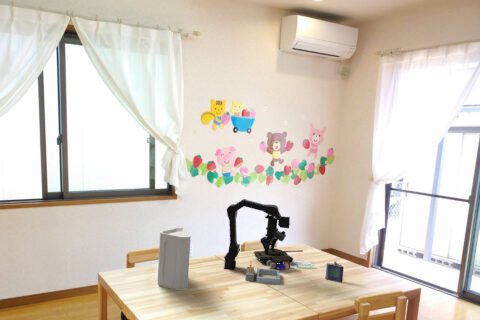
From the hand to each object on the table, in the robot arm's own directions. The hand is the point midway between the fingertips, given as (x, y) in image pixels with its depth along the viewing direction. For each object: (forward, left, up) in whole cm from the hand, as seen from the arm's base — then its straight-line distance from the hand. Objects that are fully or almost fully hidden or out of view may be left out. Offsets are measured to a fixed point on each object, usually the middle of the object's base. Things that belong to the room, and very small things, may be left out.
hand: (269, 251), depth 207 cm
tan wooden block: (-11, -8, -13) cm, 19 cm away
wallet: (+39, -1, -14) cm, 42 cm away
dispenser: (-11, -8, -14) cm, 19 cm away
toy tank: (+8, +24, -14) cm, 29 cm away
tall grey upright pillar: (-53, -25, -14) cm, 60 cm away
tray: (0, -8, -14) cm, 16 cm away
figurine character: (+7, +9, -14) cm, 18 cm away
